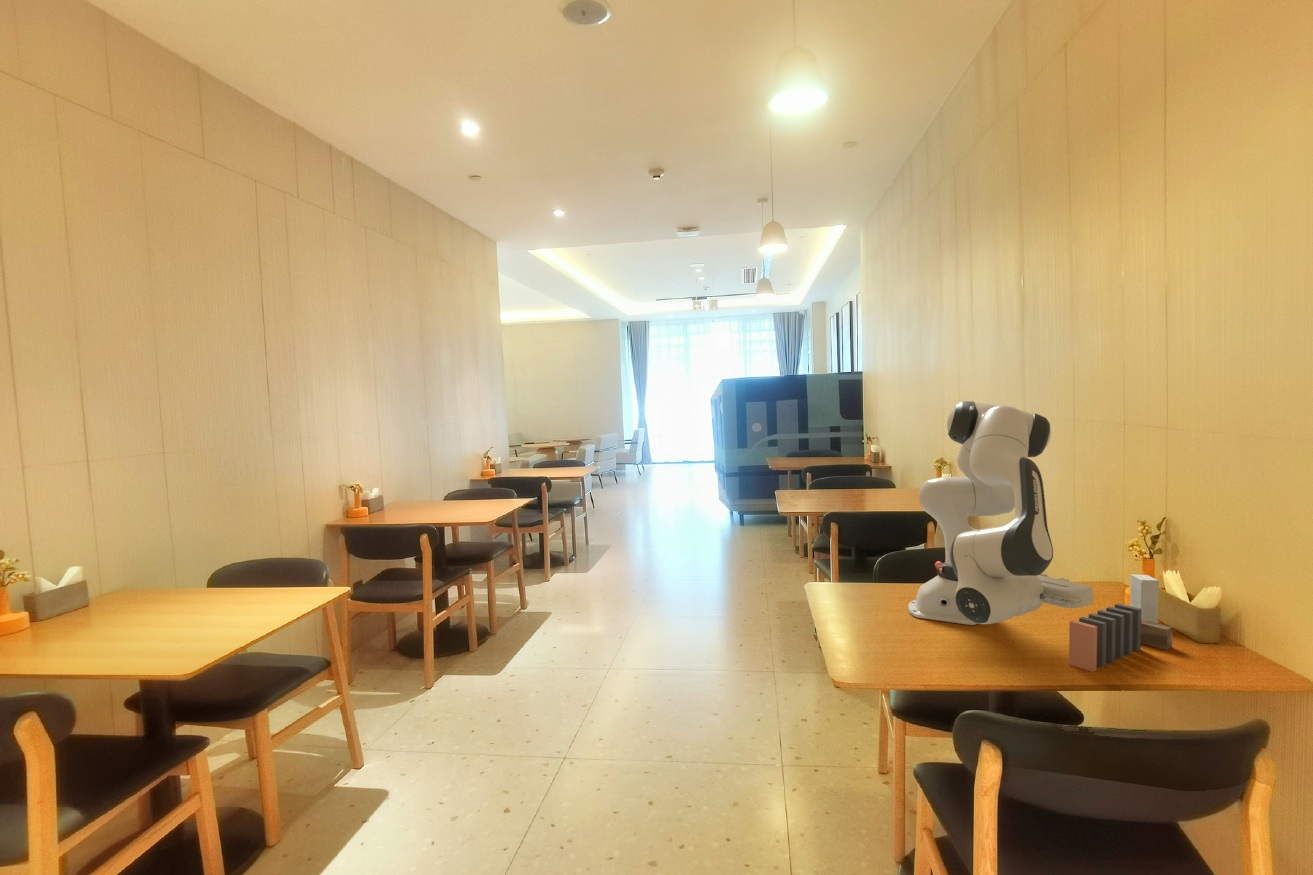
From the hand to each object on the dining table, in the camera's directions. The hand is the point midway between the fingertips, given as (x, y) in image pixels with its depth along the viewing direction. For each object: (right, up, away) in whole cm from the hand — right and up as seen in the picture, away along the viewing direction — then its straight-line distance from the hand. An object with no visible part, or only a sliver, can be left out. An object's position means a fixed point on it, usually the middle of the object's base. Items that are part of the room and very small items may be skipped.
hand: (1054, 580), depth 140 cm
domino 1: (+11, -21, +8) cm, 25 cm away
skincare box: (+46, -19, +36) cm, 61 cm away
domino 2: (+14, -21, +10) cm, 27 cm away
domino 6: (+29, -20, +19) cm, 40 cm away
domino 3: (+18, -21, +12) cm, 30 cm away
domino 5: (+25, -21, +16) cm, 36 cm away
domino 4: (+22, -21, +14) cm, 33 cm away
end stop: (+35, -20, +22) cm, 46 cm away
